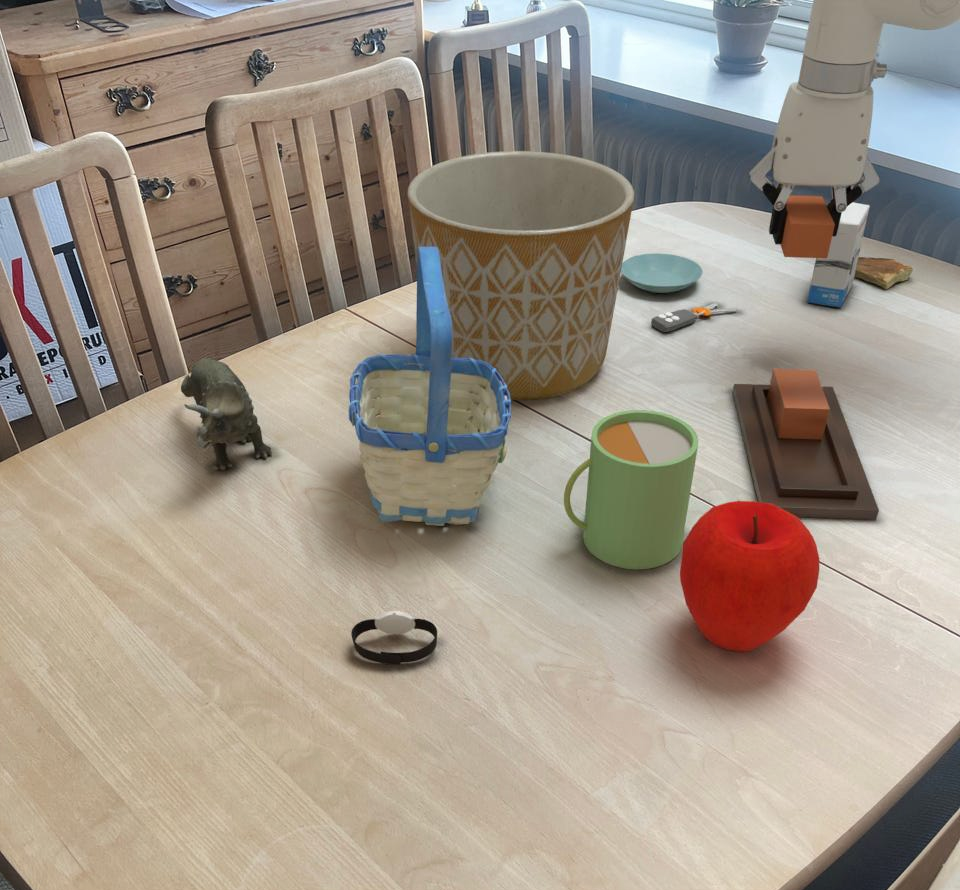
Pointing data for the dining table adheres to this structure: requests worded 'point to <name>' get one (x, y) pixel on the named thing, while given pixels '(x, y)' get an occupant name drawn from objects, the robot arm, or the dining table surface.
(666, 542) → the mug
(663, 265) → the saucer
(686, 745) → the dining table surface
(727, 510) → the apple
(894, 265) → the piece of bread
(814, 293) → the ink box
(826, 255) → the block
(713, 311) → the key chain
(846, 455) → the board
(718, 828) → the dining table surface
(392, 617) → the watch
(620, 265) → the planter
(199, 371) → the toy dinosaur
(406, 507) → the basket
